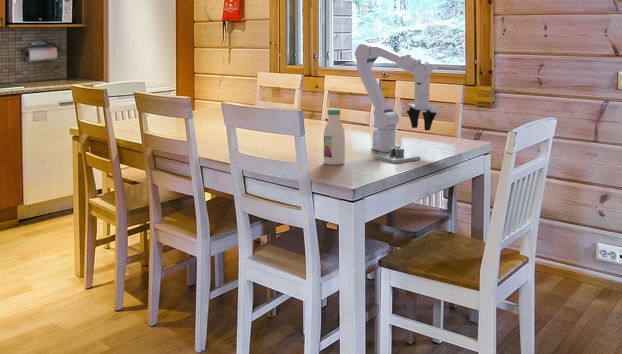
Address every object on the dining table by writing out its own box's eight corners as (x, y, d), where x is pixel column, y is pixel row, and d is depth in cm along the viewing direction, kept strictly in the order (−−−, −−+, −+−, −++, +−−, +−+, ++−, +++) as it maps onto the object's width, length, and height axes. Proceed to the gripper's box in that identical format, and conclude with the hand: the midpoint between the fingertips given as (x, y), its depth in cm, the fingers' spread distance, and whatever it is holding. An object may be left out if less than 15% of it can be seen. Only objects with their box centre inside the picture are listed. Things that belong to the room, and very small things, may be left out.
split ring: (386, 155, 246) (387, 147, 245) (398, 154, 248) (398, 146, 247) (395, 157, 241) (395, 150, 240) (406, 156, 244) (406, 148, 243)
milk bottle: (343, 161, 243) (343, 108, 238) (345, 165, 235) (345, 110, 231) (323, 161, 242) (322, 108, 238) (324, 165, 235) (324, 111, 231)
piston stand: (375, 158, 247) (375, 144, 246) (399, 154, 253) (399, 141, 252) (394, 163, 237) (394, 149, 236) (419, 159, 243) (420, 146, 242)
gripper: (401, 93, 253) (401, 127, 256) (426, 96, 241) (425, 132, 244) (415, 92, 257) (414, 126, 260) (440, 95, 245) (439, 130, 248)
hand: (421, 128), depth 252 cm, fingers open, 7 cm apart
